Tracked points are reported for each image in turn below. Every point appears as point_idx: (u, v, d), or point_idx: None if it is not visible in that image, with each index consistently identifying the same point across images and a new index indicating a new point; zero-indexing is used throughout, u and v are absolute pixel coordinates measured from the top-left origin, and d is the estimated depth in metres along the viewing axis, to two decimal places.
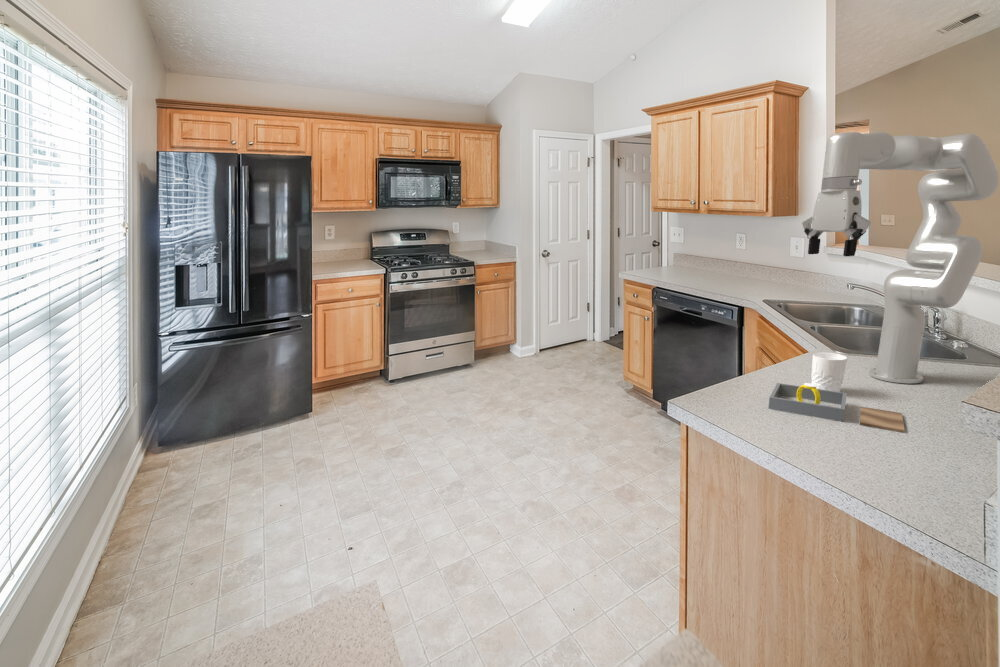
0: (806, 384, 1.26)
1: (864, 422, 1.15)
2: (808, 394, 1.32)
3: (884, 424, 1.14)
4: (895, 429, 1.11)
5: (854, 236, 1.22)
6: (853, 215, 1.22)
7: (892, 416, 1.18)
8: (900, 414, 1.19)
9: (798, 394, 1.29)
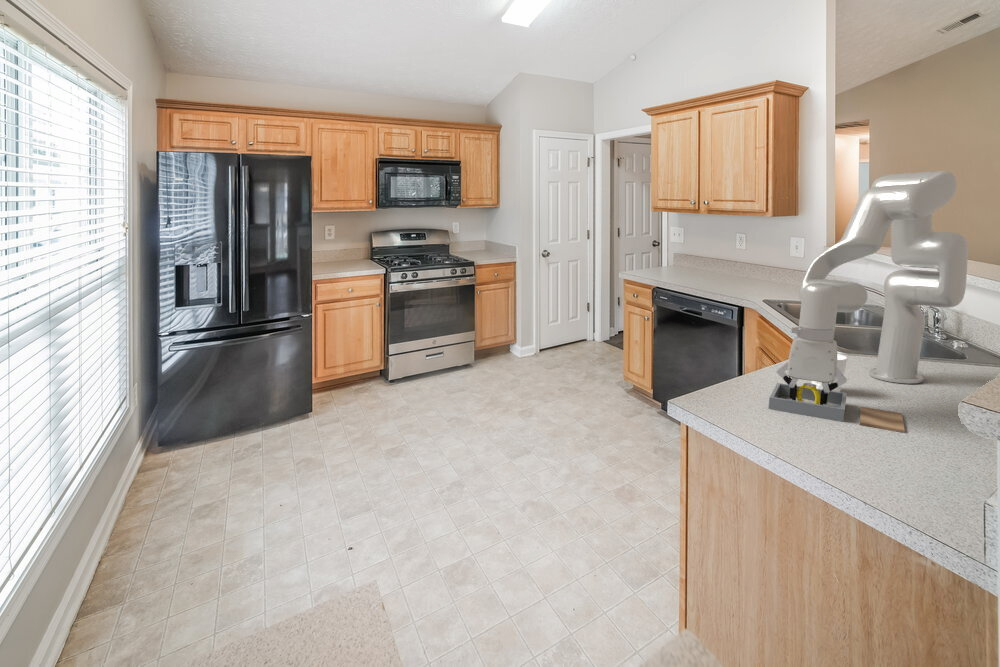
0: (806, 384, 1.26)
1: (864, 422, 1.15)
2: (808, 394, 1.32)
3: (884, 424, 1.14)
4: (895, 429, 1.11)
5: None
6: None
7: (892, 416, 1.18)
8: (900, 414, 1.19)
9: (798, 394, 1.29)
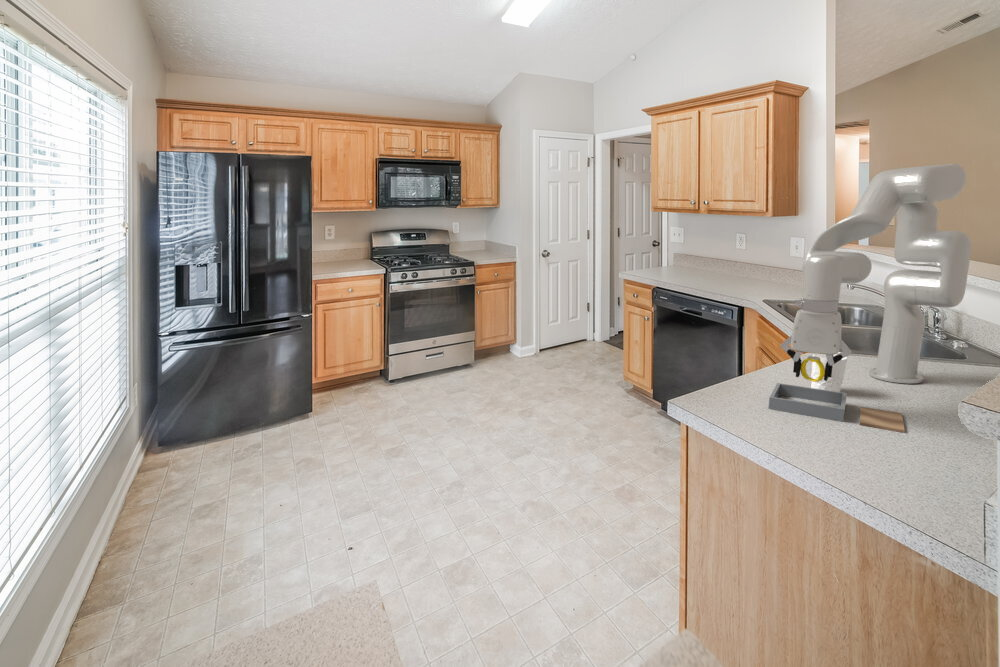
0: (810, 357, 1.25)
1: (864, 422, 1.15)
2: (808, 394, 1.32)
3: (884, 424, 1.14)
4: (895, 429, 1.11)
5: None
6: None
7: (892, 416, 1.18)
8: (900, 414, 1.19)
9: (802, 368, 1.27)
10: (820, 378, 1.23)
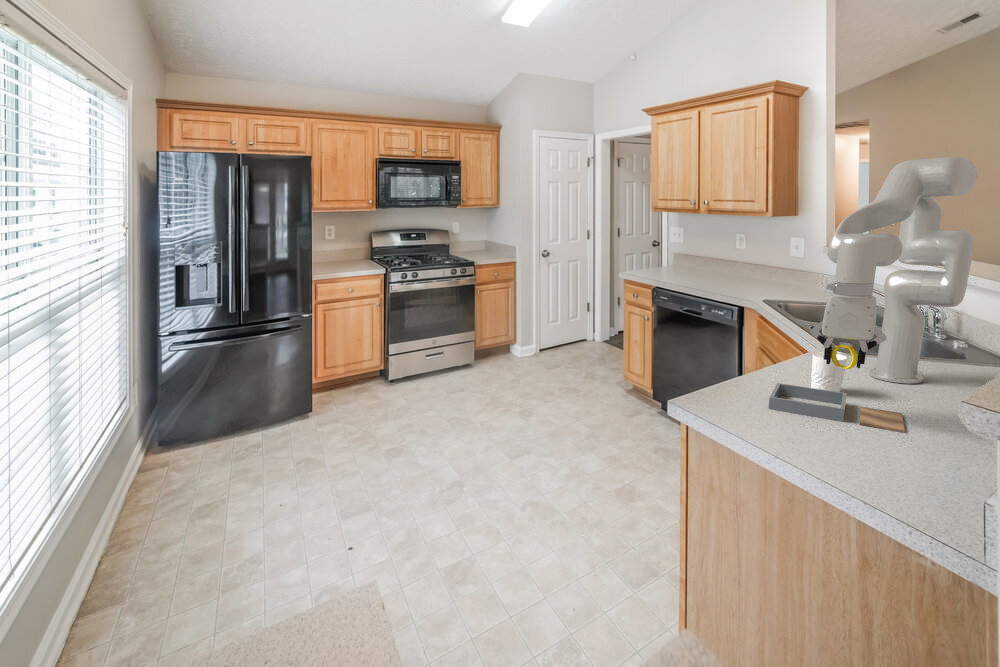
0: (842, 343, 1.20)
1: (864, 422, 1.15)
2: (808, 394, 1.32)
3: (884, 424, 1.14)
4: (895, 429, 1.11)
5: None
6: None
7: (892, 416, 1.18)
8: (900, 414, 1.19)
9: (833, 355, 1.23)
10: (852, 365, 1.18)
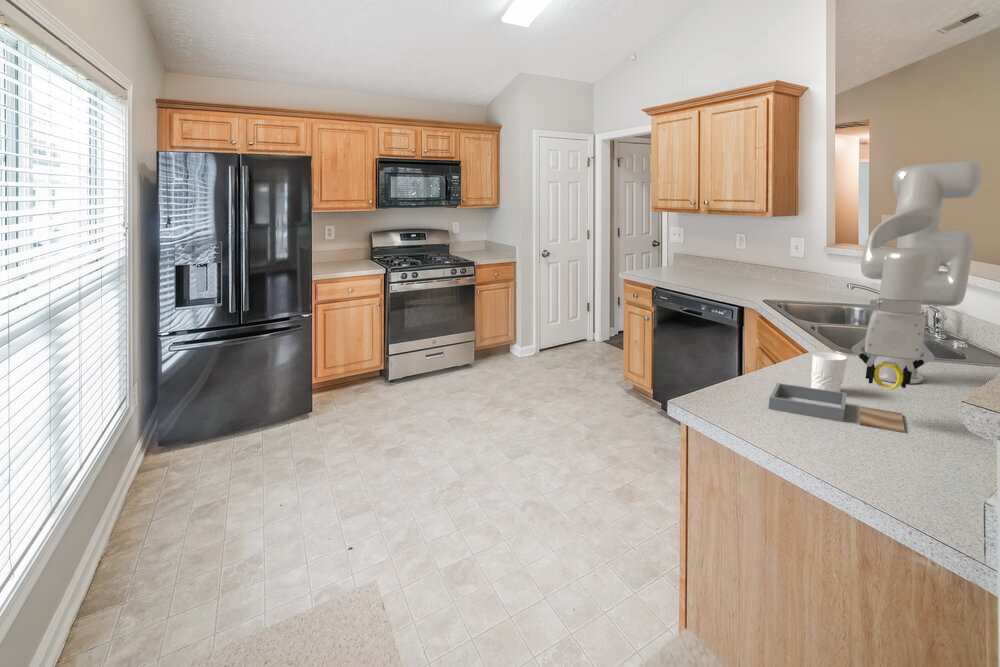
0: (886, 362, 1.15)
1: (864, 422, 1.15)
2: (808, 394, 1.32)
3: (884, 424, 1.14)
4: (895, 429, 1.11)
5: None
6: None
7: (892, 416, 1.18)
8: (900, 414, 1.19)
9: (875, 373, 1.18)
10: (897, 385, 1.13)
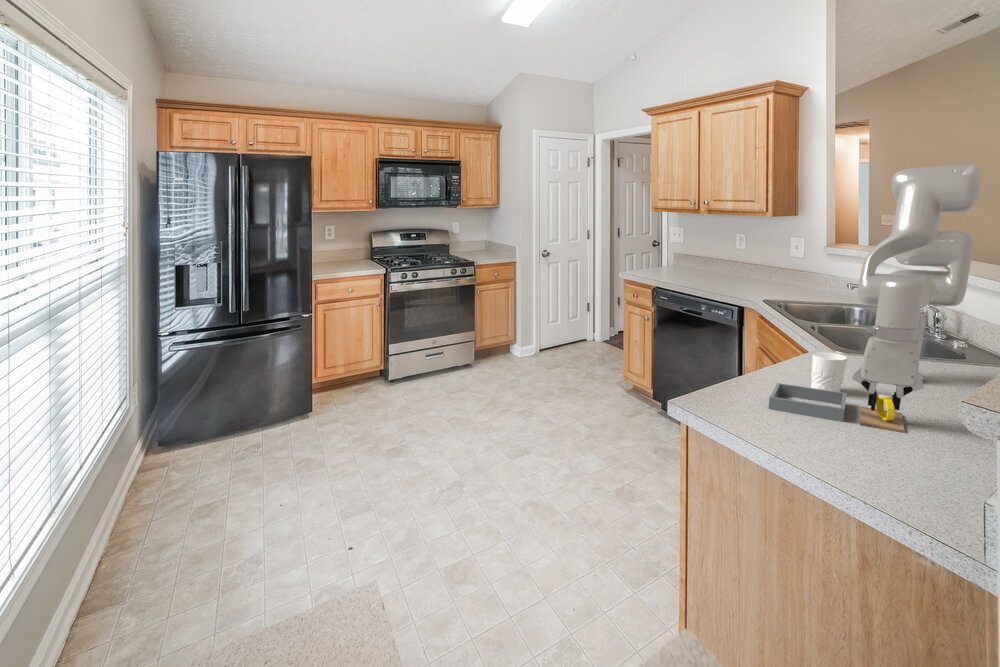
0: (881, 394, 1.16)
1: (864, 422, 1.15)
2: (808, 394, 1.32)
3: (884, 424, 1.14)
4: (895, 429, 1.11)
5: None
6: None
7: None
8: (900, 414, 1.19)
9: (878, 405, 1.19)
10: (890, 417, 1.14)
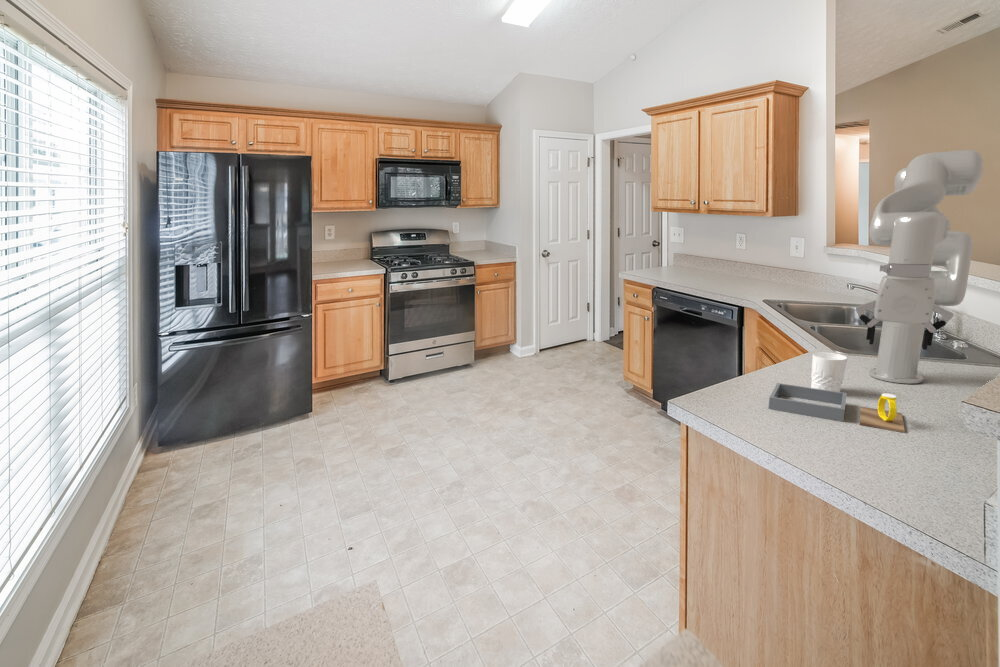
0: (885, 394, 1.16)
1: (864, 422, 1.15)
2: (808, 394, 1.32)
3: (884, 424, 1.14)
4: (895, 429, 1.11)
5: None
6: None
7: None
8: (900, 414, 1.19)
9: (880, 405, 1.19)
10: (890, 418, 1.14)
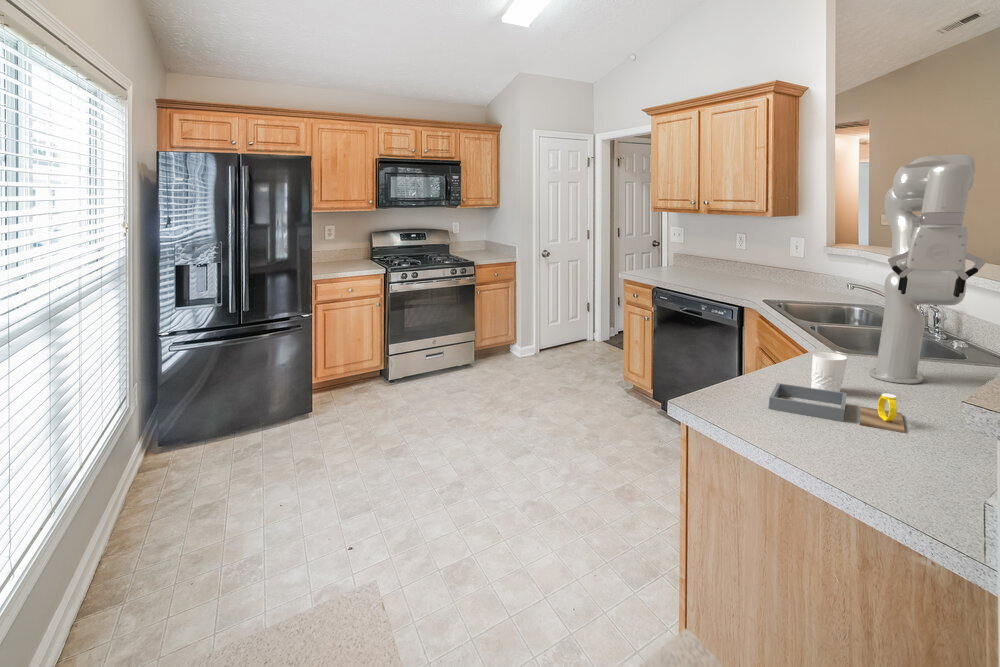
0: (885, 394, 1.16)
1: (864, 422, 1.15)
2: (808, 394, 1.32)
3: (884, 424, 1.14)
4: (895, 429, 1.11)
5: None
6: None
7: None
8: (900, 414, 1.19)
9: (880, 405, 1.19)
10: (890, 418, 1.14)
